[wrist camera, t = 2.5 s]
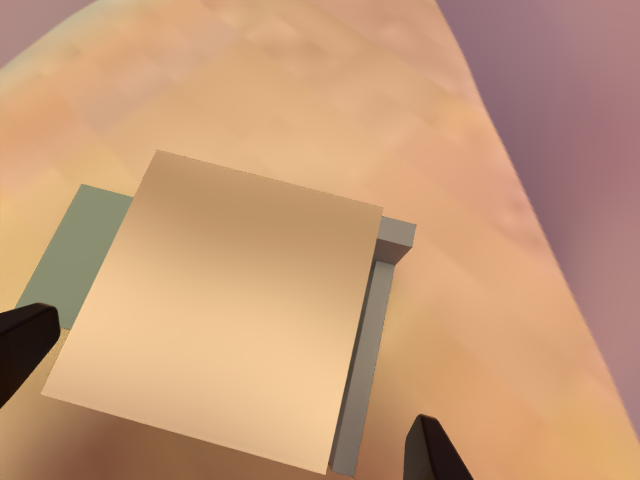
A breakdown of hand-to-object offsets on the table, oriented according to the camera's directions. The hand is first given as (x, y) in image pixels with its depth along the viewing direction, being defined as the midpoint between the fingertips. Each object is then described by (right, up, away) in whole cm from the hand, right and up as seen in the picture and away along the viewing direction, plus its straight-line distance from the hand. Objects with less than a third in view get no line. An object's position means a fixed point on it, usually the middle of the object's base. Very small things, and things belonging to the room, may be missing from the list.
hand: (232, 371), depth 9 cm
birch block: (0, -1, +7) cm, 7 cm away
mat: (-8, +2, +10) cm, 13 cm away
